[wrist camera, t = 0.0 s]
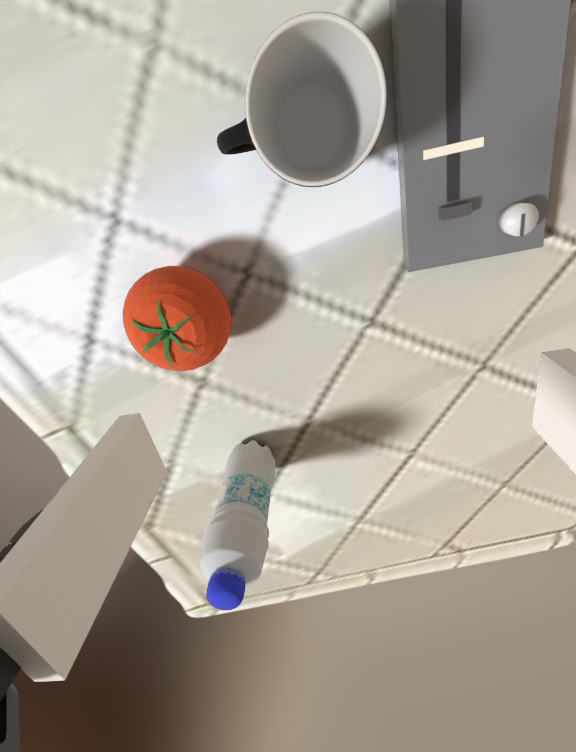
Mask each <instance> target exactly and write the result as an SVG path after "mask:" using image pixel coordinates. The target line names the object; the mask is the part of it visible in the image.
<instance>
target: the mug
mask: <svg viewBox="0 0 576 752" xmlns="http://www.w3.org/2000/svg"><path fill="white" fill-rule="evenodd" d="M386 101H387V90H386V80H385V74H384V70H383V66H382V63H381V60H380V58H379V55H378V53H377V51H376V49H375V47H374V45H373V44H372V42H371V41H370V39H369V38H368V37H367V36H366V34H365V33H364V32H363V31H362V30H361V29H360V28H359V27H358V26H356V25H355V24H354V23H352V22H351V21H349V20H348V19H346V18H344V17H341V16H339V15H336V14H332V13H327V12H311V13H306V14H302V15H299V16H296V17H294V18H292V19H290V20H288V21H286V22H285V23H283V24H282V25H281V26H279V27H278V28H277V29H276V30H275V31H274V32H273V33H272V34H271V35H270V36H269V37H268V38H267V39H266V41H265V42H264V44H263V45H262V46H261V48H260V50H259V51H258V53H257V55H256V57H255V59H254V62H253V64H252V67H251V70H250V73H249V76H248V81H247V87H246V95H245V111H246V118H245V119H244V120H243V121H242V122H241V123H239V124H237V125H235V126H233V127H230V128H228V129H226V130H224V131H223V132H221V133H220V134H219V135H218V137H217V144H218V147H219V150H220V151H221V152H222V153H223V154H238V153H243V152H248V151H253V150H257V152H258V153H259V155H260V157H261V158H262V160H263V161H264V162H265V163H266V165H267V166H268V167H269V168H270V169H271V170H272V171H273V172H274V173H276V174H277V175H278V176H280V177H281V178H283V179H284V180H286V181H288V182H290V183H293V184H296V185H300V186H305V187H321V186H326V185H330V184H333V183H335V182H338V181H340V180H342V179H343V178H345V177H347V176H348V175H349V174H351V173H352V172H353V171H355V170H356V169H357V168H358V167H359V166H360V165H361V164H362V163H363V161H364V160H365V159H366V158H367V156H368V155H369V154H370V152H371V151H372V149H373V147H374V145H375V143H376V141H377V139H378V137H379V134H380V132H381V129H382V125H383V122H384V117H385V111H386Z"/></svg>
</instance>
